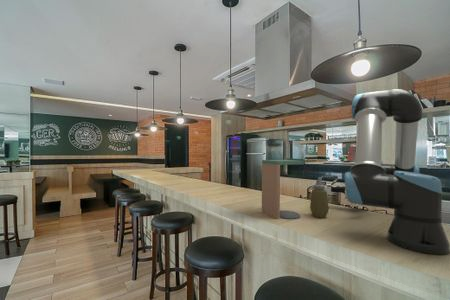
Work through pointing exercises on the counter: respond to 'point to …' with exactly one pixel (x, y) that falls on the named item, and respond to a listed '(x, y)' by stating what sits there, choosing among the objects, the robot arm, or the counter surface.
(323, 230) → the counter surface
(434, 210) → the robot arm
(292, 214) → the coaster
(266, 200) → the green-topped pedestal
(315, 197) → the squeeze bottle
